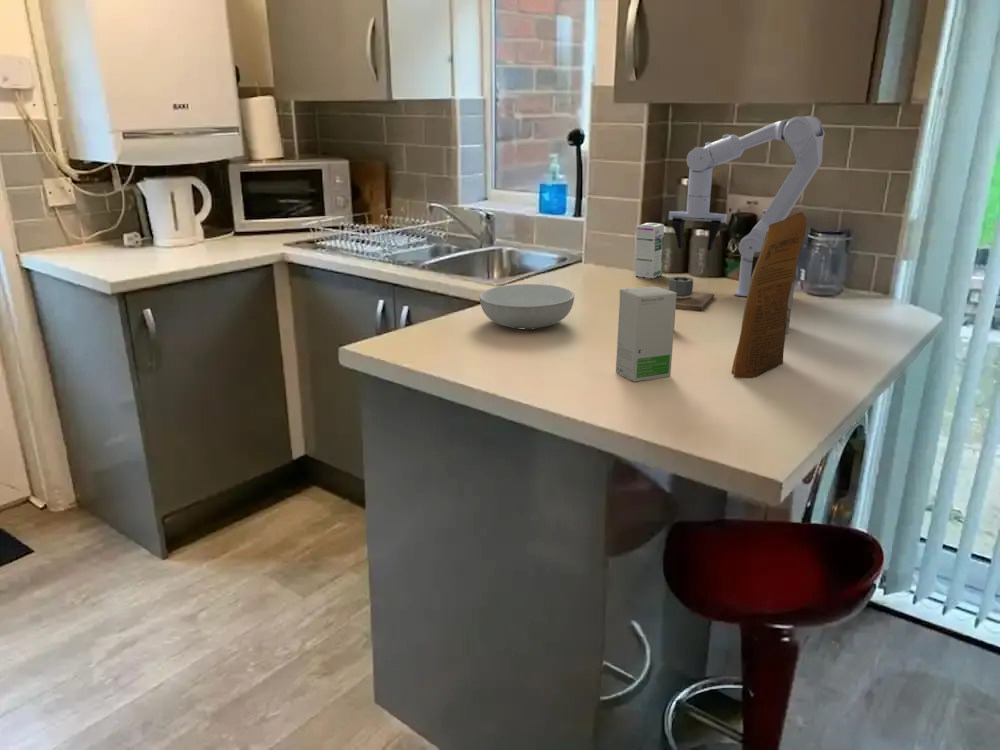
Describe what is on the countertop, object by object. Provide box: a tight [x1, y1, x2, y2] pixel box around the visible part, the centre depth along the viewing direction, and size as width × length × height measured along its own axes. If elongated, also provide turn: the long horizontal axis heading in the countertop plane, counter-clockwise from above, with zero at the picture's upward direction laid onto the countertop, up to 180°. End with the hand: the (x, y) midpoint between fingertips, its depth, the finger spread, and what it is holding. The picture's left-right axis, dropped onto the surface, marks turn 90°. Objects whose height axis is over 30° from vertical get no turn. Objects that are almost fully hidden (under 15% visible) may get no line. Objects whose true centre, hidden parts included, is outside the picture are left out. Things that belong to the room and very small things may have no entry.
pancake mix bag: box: [731, 211, 807, 379], centre depth 140 cm, size 7×19×28 cm, turn 135°
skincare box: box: [615, 286, 677, 383], centre depth 140 cm, size 8×7×16 cm
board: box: [665, 288, 715, 312], centre depth 192 cm, size 14×14×1 cm
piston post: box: [676, 280, 691, 300], centre depth 191 cm, size 5×5×4 cm
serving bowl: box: [478, 283, 575, 330], centre depth 173 cm, size 21×21×7 cm
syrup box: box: [634, 222, 665, 279], centre depth 217 cm, size 6×6×14 cm
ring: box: [668, 276, 694, 296], centre depth 191 cm, size 6×6×4 cm
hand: (694, 248), depth 205 cm, fingers open, 7 cm apart
